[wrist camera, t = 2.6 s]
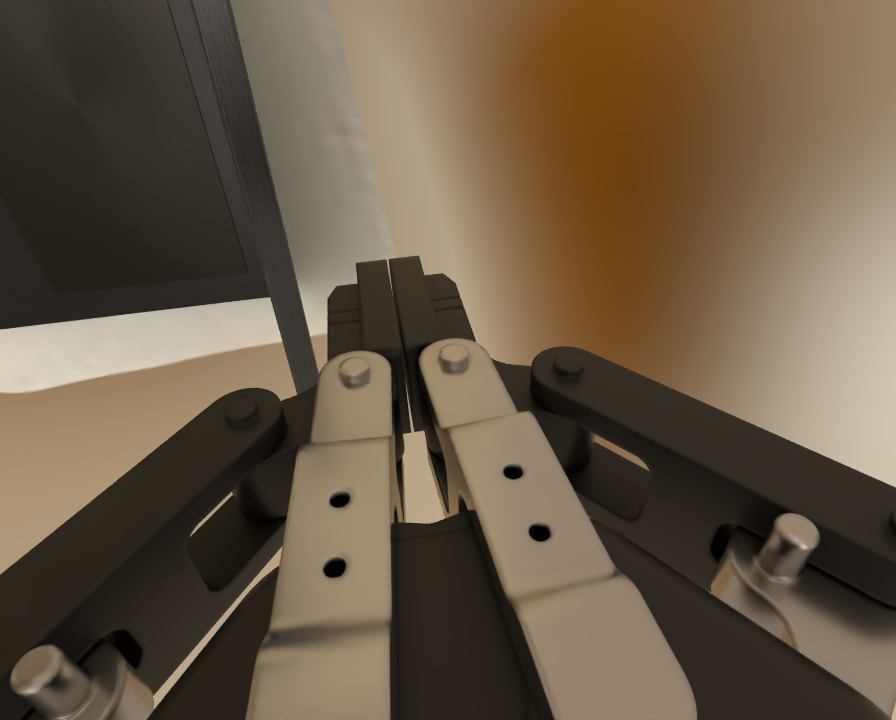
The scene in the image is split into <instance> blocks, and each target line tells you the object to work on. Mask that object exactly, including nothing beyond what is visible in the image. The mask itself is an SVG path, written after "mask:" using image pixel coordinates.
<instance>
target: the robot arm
mask: <svg viewBox="0 0 896 720" xmlns="http://www.w3.org/2000/svg"><path fill="white" fill-rule="evenodd" d="M389 267H390V276H391V284H392V290H391V284H390V278H389V273H388V267H387V261H386V260H378V261H369V262H360V263H356V269H357V281H358V284H350V285H342V286H336V288H335V289H334V290H333V292H332V293H331V295H330V296H329V298H328V362H327V363H326V364H325V365H324V366H323V367H322V369H321V371H320V373H319V378H318V383H317V384H316V385H315V386H313V387H312V388H310V389H309V390H307V391H305V392H303V393H301V394H298V395H296V396H293V397H291V398H288V399H285V400H283V401H280V399H279V398H278V396H277V395H276V394H274V393H273V392H271V391H269V390H266V389H261V388H247V389H241V390H237V391H234V392H231V393H229V394H226V395H225V396H223V397H221V398H220V399H218V400H217V401H215V402H214V403H212V404H211V405H210V406H209V407H208V408H206V409H205V410H204V411H203V412H201V413H200V414H199V415H198V416H196V417H195V418H194V419H193V420H191V421H190V422H189V423H188V424H186V425H185V426H184V427H183V428H182V429H180V430H179V431H178V432H177V433H175V434H174V435H173V436H172V437H170V438H169V439H168V440H167V441H165V442H164V443H163V444H162V445H160V446H159V447H158V448H157V449H155V450H154V451H153V452H152V453H150V454H149V455H148V456H147V457H146V458H145V459H143V460H142V461H141V462H140V463H138V464H137V465H136V466H134V467H133V468H132V469H131V470H129V471H128V472H127V473H126V474H124V475H123V476H122V477H121V478H119V479H118V480H117V481H116V482H115V483H113V484H112V485H111V486H110V487H108V488H107V489H106V490H105V491H103V492H102V493H101V494H100V495H98V496H97V497H96V498H95V499H93V500H92V501H91V502H90V503H89V504H87V505H86V506H85V507H84V508H82V509H81V510H80V511H79V512H77V513H76V514H75V515H74V516H72V517H71V518H70V519H69V520H67V521H66V522H65V523H64V524H62V525H61V526H60V527H59V528H58V529H56V530H55V531H54V532H53V533H51V534H50V535H49V536H48V537H46V538H45V539H44V540H43V541H42V542H40V543H39V544H38V545H36V546H35V547H34V548H33V549H32V550H30V551H29V552H28V553H27V554H25V555H24V556H23V557H22V558H20V559H19V560H18V561H17V562H16V563H14V564H13V565H12V566H10V567H9V568H8V569H7V570H5V571H4V572H3V573H2V574H1V575H0V720H892V719H891V717H892V713H893V709H894V706H895V702H896V488H895V487H893V486H891V485H889V484H886V483H884V482H882V481H879V480H877V479H875V478H873V477H870V476H868V475H866V474H864V473H861V472H859V471H857V470H855V469H852V468H850V467H848V466H846V465H843V464H841V463H839V462H837V461H834V460H832V459H830V458H828V457H825V456H823V455H821V454H819V453H816V452H814V451H812V450H809V449H807V448H805V447H803V446H800V445H798V444H796V443H794V442H791V441H789V440H787V439H785V438H782V437H780V436H778V435H776V434H773V433H771V432H769V431H767V430H764V429H762V428H760V427H757V426H755V425H753V424H751V423H749V422H746V421H744V420H741V419H739V418H737V417H735V416H732V415H730V414H728V413H726V412H724V411H721V410H719V409H717V408H714V407H712V406H710V405H708V404H706V403H703V402H701V401H699V400H697V399H694V398H692V397H690V396H688V395H685V394H683V393H680V392H678V391H676V390H674V389H671V388H669V387H667V386H665V385H663V384H660V383H658V382H656V381H654V380H651V379H649V378H647V377H645V376H642V375H640V374H638V373H635V372H633V371H631V370H629V369H627V368H624V367H622V366H620V365H617V364H615V363H613V362H611V361H608V360H606V359H604V358H602V357H599V356H597V355H595V354H592V353H590V352H588V351H585V350H583V349H579V348H574V347H554V348H550V349H547V350H544V351H542V352H541V353H539V354H538V355H537V356H536V357H535V358H534V360H533V362H532V366H522V365H512V364H505V363H501V362H499V361H496V360H493V359H491V358H490V356H489V354H488V352H487V351H486V349H485V348H484V347H483V346H481V345H480V344H478V343H476V340H475V337H474V334H473V331H472V329H471V326H470V323H469V320H468V318H467V315H466V312H465V309H464V307H463V303H462V300H461V298H460V295H459V292H458V289H457V286H456V284H455V282H453V281H452V280H451V279H449V278H448V277H447V276H446V275H444V274H443V273H441V274H434V275H426V276H424V272H423V269H422V265H421V261H420V258H419V256H411V257H403V258H394V259H389ZM392 293H393V296H392ZM405 381H406V383H405ZM406 386H407V392H408V398H409V404H410V410H411V415H412V421H413V428H414V432H417V431H423V430H424V431H425V437H426V442H427V454H428V461H429V465H430V468H431V471H432V475H433V478H434V482H435V485H436V489H437V492H438V496H439V499H440V502H441V506H442V509H443V513H444V516H445V519H443V520H441V521H438V522H435V523H431V524H422V523H406V511H405V488H404V487H405V486H404V464H403V454H404V439H403V434H405V433H411V427H410V419H409V410H408V401H407V392H406ZM595 434H596V435H598V436H600V437H602V438H604V439H605V440H607V441H609V442H611V443H613V444H615V445H617V446H618V447H620V448H622V449H624V450H626V451H628V452H630V453H632V454H634V455H635V456H637V457H639V458H640V459H641V460H642V461H643V462H644V463H645V464H646V465H647V467H648V469H649V471H648V470H646V469H644V468H642V467H640V466H639V465H637V464H635V463H633V462H631V461H629V460H627V459H626V458H624V457H622V456H620V455H618V454H616V453H614V452H612V451H611V450H609V449H607V448H605V447H603V446H601V445H600V444H598V443H596V442H594V438H595ZM231 492H232V493H233V495H232V496H231V497H230V498H229V499H228V500H227V501H226V502H225V503H224V504H223V505H222V506H221V507H220V508H219V509H218V510H217V511H216V512H215V513H214V514H213V515H212V516H211V517H210V518H209V519H208V520H207V521H206V522H205V523H204V524H203V525H202V526H201V527H200V528H199V529H198V530H197V531H196V532H195V533H194V534H193V535H192V536H191V537H190V535H191V533H192V531H193V530H194V529H195V527H196V526H197V525H198V524H199V523H200V522H201V521H202V520H203V519H204V518H205V517H206V516H207V515H208V514H209V513H210V512H211V511H212V510H213V509H214V508H215V507H216V506H217V505H218V504H219V503H220V502H221V501H222V500H223V499H224V498H225V497H226V496H228V495H229V494H230V493H231ZM588 516H589V517H591V518H589V517H588ZM189 537H190V538H189ZM281 547H282V552H281V559H280V565H279V566H278V567H276V568H275V569H274V570H272V571H271V572H270V573H269V574H268V575H266V576H265V577H264V578H263V579H261V580H260V581H259V582H258V583H257V584H256V585H255V586H254V587H253V588H252V590H250V591H249V593H248V594H247V595H246V596H245V597H244V599H243V600H242V601H241V602H240V604H239V605H238V606H237V607H236V609H235V610H234V611H233V612H232V614H231V615H230V616H229V617H228V618H227V620H226V621H225V622H224V623H223V625H222V626H221V627H220V629H219V630H218V631H217V632H216V633H215V635H214V636H213V637H212V638H211V640H210V641H209V642H208V643H207V645H206V646H205V647H204V648H203V649H202V651H201V652H200V653H199V654H198V656H197V657H196V658H195V659H194V661H193V662H192V663H191V664H190V666H189V667H188V668H187V669H186V671H185V672H184V673H183V674H182V676H181V677H180V678H179V679H178V681H177V682H176V683H175V684H174V686H173V687H172V688H171V689H170V691H169V692H168V693H167V694H166V695H165V697H164V698H163V699H162V700H161V702H160V703H159V704H158V705H157V707H156V708H155V709H154V700H153V696H154V694H155V693H156V692H157V691H158V690H159V688H160V687H161V686H162V685H163V684H164V683H165V682H166V680H167V679H168V678H169V677H170V676H171V675H172V674H173V672H174V671H175V670H176V669H177V668H178V667H179V665H180V664H181V663H182V662H183V661H184V659H185V658H186V657H187V656H188V655H189V653H191V652H192V650H193V649H194V648H195V647H196V646H197V645H198V643H199V642H200V641H201V640H202V639H203V638H204V636H205V635H206V634H207V633H208V632H209V631H210V629H211V628H212V627H213V626H214V625H215V624H216V622H217V621H218V620H219V619H220V618H221V616H222V615H223V614H224V613H225V612H226V611H227V610H228V608H229V607H230V606H231V605H232V604H233V603H234V601H235V600H236V599H237V598H238V597H239V596H240V594H241V593H242V592H243V591H244V590H245V589H246V587H247V586H248V585H249V584H250V583H251V582H252V581H253V579H254V578H255V577H256V576H257V575H258V574H259V572H260V571H261V570H262V569H263V568H264V567H265V565H266V564H267V563H268V562H269V561H270V560H271V558H272V557H273V556H274V555H275V554H276V553H277V551H278V550H279V549H280V548H281ZM702 587H703V588H702ZM705 589H706V590H705ZM708 591H709V592H711V593H712V594H711V593H709V592H708Z"/></svg>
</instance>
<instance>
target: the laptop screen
mask: <svg viewBox="0 0 896 720" xmlns="http://www.w3.org/2000/svg"><path fill="white" fill-rule="evenodd" d="M188 3H189V7H190V11H191V14H192V18H193V21H194V25H195V29H196V32H197V36H198V39H199V43H200V46H201V50H202V54H203V57H204V61H205V64H206V68H207V72H208V75H209V79H210V82H211V86H212V90H213V93H214V97H215V100H216V104H217V108H218V111H219V115H220V118H221V122H222V126H223V129H224V133H225V136H226V140H227V143H228V147H229V151H230V154H231V158H232V161H233V165H234V169H235V172H236V176H237V179H238V183H239V187H240V190H241V194H242V197H243V201H244V205H245V208H246V212H247V215H248V219H249V223H250V226H251V230H252V233H253V237H254V240H255V244H256V248H257V251H258V255H259V258H260V262H261V266H262V269H263V273H264V276H265V280H266V284H267V287H268V291H269V294H270V298H271V302H272V305H273V309H274V312H275V316H276V320H277V323H278V327H279V330H280V334H281V337H282V341H283V345H284V348H285V352H286V355H287V359H288V362H289V366H290V369H291V373H292V377H293V381H294V384H295V388H296V391H297V395H298V394H301V393H303V392H305V391H307V390H309V389H310V388H312V387H313V386H315V385H316V384H317V383H318V378H319V372H318V368H317V364H316V360H315V356H314V351H313V347H312V343H311V339H310V335H309V330H308V326H307V322H306V318H305V314H304V310H303V305H302V301H301V297H300V293H299V289H298V284H297V280H296V276H295V272H294V268H293V263H292V259H291V255H290V251H289V247H288V243H287V238H286V234H285V230H284V226H283V222H282V217H281V213H280V209H279V205H278V201H277V196H276V192H275V188H274V184H273V180H272V176H271V171H270V167H269V163H268V159H267V155H266V150H265V146H264V142H263V138H262V134H261V130H260V125H259V121H258V117H257V113H256V109H255V104H254V100H253V96H252V92H251V88H250V83H249V79H248V75H247V71H246V67H245V63H244V58H243V54H242V50H241V46H240V42H239V37H238V33H237V29H236V25H235V21H234V16H233V12H232V8H231V4H230V0H188Z"/></svg>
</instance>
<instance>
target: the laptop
mask: <svg viewBox="0 0 896 720" xmlns="http://www.w3.org/2000/svg"><path fill="white" fill-rule="evenodd" d="M265 297H270V294H269V291H268V287H267V284H266V280H265V276H264V273H263V269H262V266H261V262H260V258H259V255H258V251H257V248H256V244H255V240H254V237H253V233H252V230H251V226H250V223H249V219H248V215H247V212H246V208H245V205H244V201H243V197H242V194H241V190H240V187H239V183H238V179H237V176H236V172H235V169H234V165H233V161H232V158H231V154H230V151H229V147H228V143H227V140H226V136H225V133H224V129H223V126H222V122H221V118H220V115H219V111H218V108H217V104H216V100H215V97H214V93H213V90H212V86H211V82H210V79H209V75H208V72H207V68H206V64H205V61H204V57H203V54H202V50H201V46H200V43H199V39H198V36H197V32H196V29H195V25H194V21H193V18H192V14H191V11H190V7H189V3H188V0H0V329H8V328H17V327H25V326H33V325H41V324H50V323H58V322H66V321H74V320H83V319H91V318H99V317H108V316H116V315H124V314H132V313H141V312H149V311H157V310H166V309H174V308H182V307H190V306H199V305H207V304H215V303H223V302H232V301H240V300H248V299H257V298H265Z"/></svg>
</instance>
